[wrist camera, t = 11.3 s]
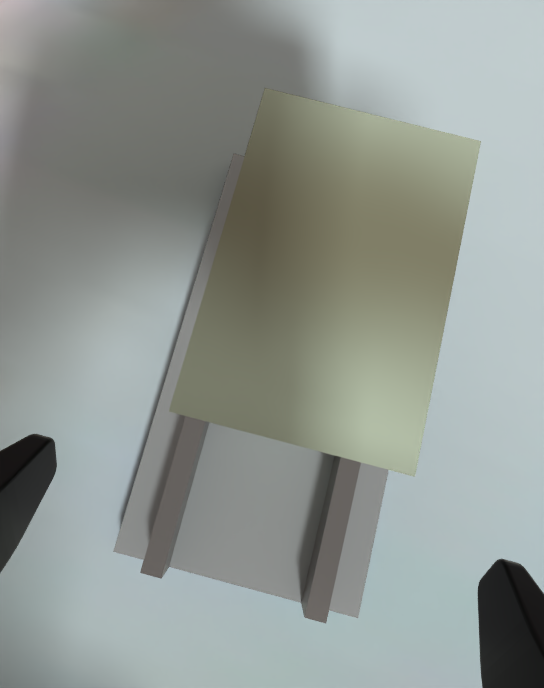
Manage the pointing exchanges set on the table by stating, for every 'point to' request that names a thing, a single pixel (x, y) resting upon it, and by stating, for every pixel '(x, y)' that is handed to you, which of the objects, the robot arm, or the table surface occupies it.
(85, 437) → the table surface
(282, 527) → the door track
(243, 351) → the grey green block
